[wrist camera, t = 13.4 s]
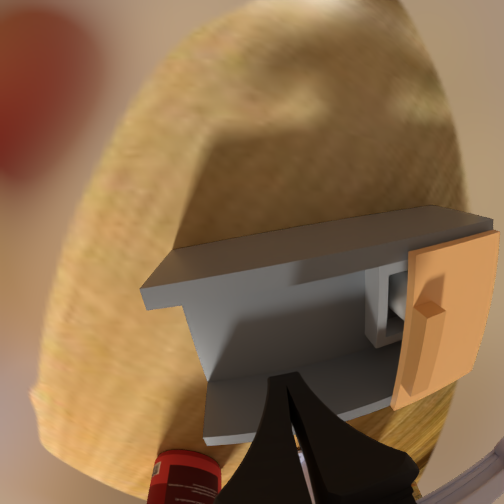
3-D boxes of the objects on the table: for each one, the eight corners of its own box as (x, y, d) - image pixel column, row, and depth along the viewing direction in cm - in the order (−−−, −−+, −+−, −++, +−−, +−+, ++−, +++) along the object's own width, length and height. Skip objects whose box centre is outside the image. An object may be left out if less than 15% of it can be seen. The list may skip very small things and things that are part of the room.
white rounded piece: (417, 300, 18) (457, 329, 13) (384, 314, 18) (420, 350, 13) (416, 261, 17) (461, 285, 12) (381, 275, 17) (423, 305, 12)
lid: (467, 366, 13) (480, 379, 12) (389, 404, 13) (401, 423, 11) (492, 229, 11) (514, 236, 9) (408, 251, 11) (432, 263, 9)
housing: (425, 328, 20) (466, 367, 14) (211, 382, 20) (207, 445, 13) (432, 205, 17) (493, 219, 11) (171, 250, 17) (139, 288, 10)
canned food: (170, 477, 24) (162, 544, 13) (144, 446, 22) (126, 526, 11) (228, 477, 24) (231, 549, 14) (211, 446, 22) (208, 537, 11)
